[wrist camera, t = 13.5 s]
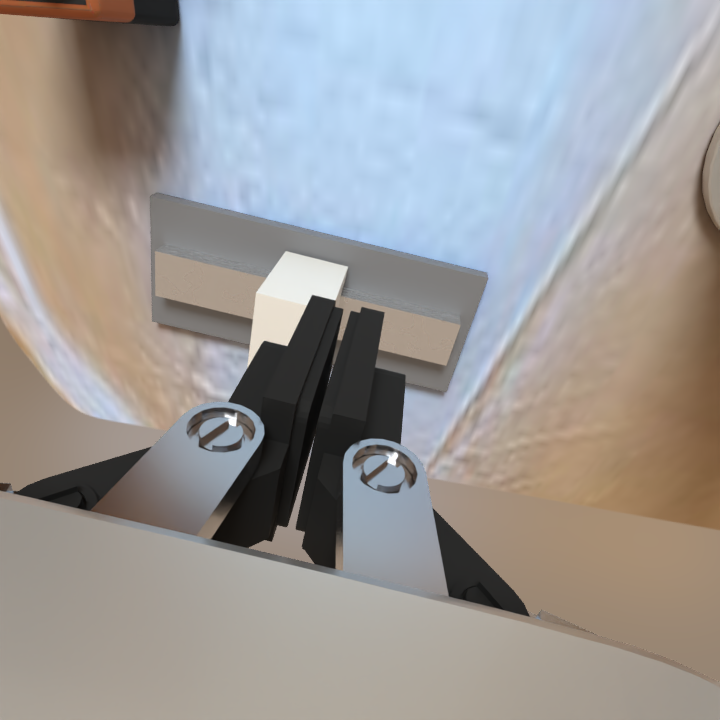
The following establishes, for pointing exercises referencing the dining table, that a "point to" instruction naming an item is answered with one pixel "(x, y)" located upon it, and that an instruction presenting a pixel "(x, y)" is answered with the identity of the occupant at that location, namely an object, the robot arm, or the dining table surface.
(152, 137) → the dining table surface
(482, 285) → the mounting plate
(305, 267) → the block
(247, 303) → the rail
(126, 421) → the dining table surface
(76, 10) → the battery
